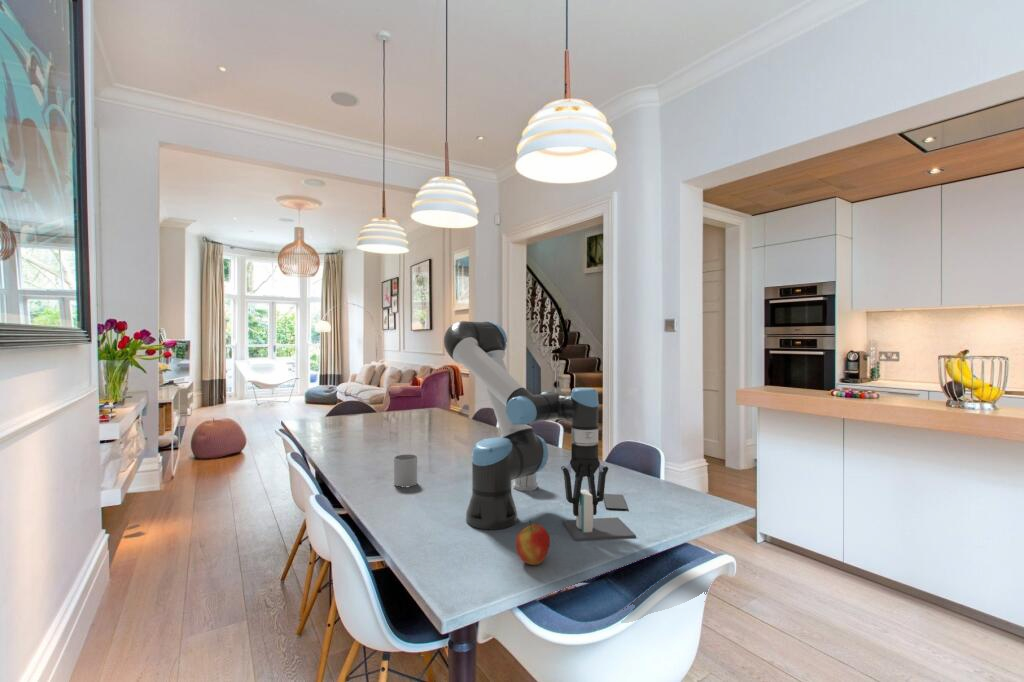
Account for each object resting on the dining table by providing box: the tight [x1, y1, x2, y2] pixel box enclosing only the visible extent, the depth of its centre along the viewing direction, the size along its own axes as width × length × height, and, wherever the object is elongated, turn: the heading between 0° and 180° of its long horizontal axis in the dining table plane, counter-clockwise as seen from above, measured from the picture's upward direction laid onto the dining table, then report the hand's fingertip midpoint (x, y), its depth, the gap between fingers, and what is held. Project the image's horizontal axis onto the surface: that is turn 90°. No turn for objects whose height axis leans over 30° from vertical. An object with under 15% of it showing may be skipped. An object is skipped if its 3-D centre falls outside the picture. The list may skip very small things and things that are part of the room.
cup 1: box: [393, 453, 418, 488], centre depth 174 cm, size 8×8×10 cm
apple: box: [515, 519, 551, 566], centre depth 113 cm, size 8×8×10 cm
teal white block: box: [579, 489, 593, 532], centre depth 132 cm, size 3×6×10 cm, turn 9°
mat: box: [562, 516, 637, 542], centre depth 133 cm, size 17×13×1 cm
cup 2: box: [513, 472, 538, 492], centre depth 171 cm, size 10×9×12 cm
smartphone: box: [603, 493, 629, 512], centre depth 155 cm, size 7×1×15 cm
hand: (584, 526), depth 132 cm, fingers closed on teal white block, 3 cm apart
